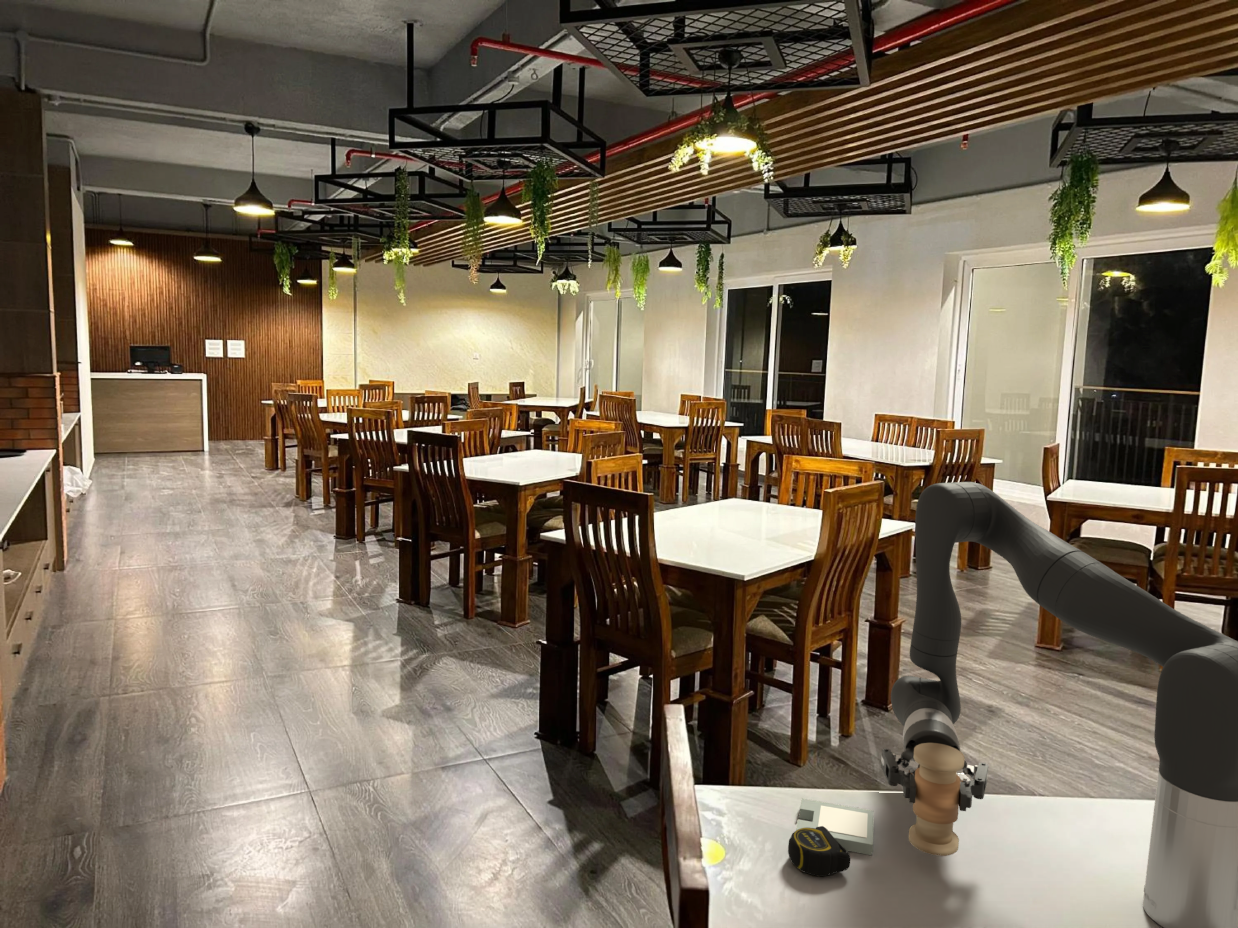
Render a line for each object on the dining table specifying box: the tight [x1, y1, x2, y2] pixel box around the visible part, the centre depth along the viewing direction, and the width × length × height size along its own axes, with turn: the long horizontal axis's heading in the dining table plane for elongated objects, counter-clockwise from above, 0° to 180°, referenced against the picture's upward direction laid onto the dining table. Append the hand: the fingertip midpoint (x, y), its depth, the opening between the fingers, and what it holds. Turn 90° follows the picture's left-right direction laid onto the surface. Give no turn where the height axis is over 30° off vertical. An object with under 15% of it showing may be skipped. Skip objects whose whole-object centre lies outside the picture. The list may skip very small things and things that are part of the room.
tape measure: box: [787, 826, 852, 877], centre depth 111 cm, size 7×7×4 cm
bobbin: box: [908, 743, 966, 857], centre depth 111 cm, size 6×6×12 cm
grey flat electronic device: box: [795, 797, 875, 856], centre depth 120 cm, size 10×9×2 cm
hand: (938, 799), depth 108 cm, fingers closed on bobbin, 5 cm apart
